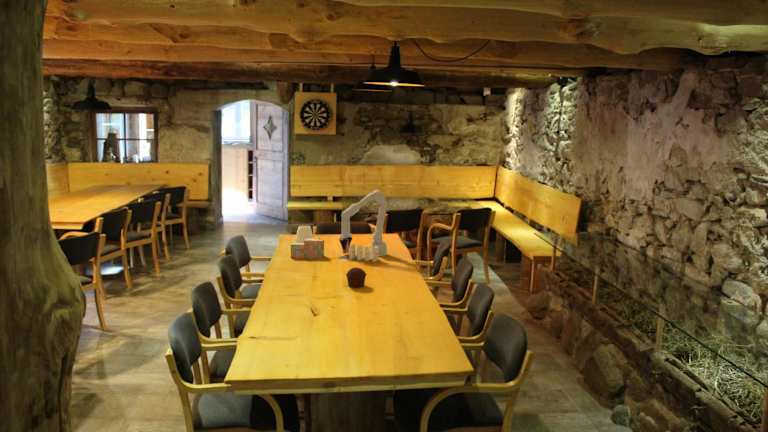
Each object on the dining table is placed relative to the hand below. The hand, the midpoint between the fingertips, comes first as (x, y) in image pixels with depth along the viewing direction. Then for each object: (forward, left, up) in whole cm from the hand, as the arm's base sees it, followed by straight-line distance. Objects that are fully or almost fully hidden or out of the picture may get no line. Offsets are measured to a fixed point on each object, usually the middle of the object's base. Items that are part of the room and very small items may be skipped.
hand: (345, 248), depth 410 cm
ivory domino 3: (-5, +20, -4) cm, 21 cm away
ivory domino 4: (-8, +25, -4) cm, 26 cm away
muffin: (+32, +67, -5) cm, 74 cm away
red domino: (0, 0, -3) cm, 3 cm away
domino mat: (-1, +15, -5) cm, 16 cm away
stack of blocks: (+24, -10, -5) cm, 26 cm away
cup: (+10, -43, -5) cm, 45 cm away
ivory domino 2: (-2, +16, -4) cm, 16 cm away
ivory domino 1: (+2, +11, -4) cm, 12 cm away
